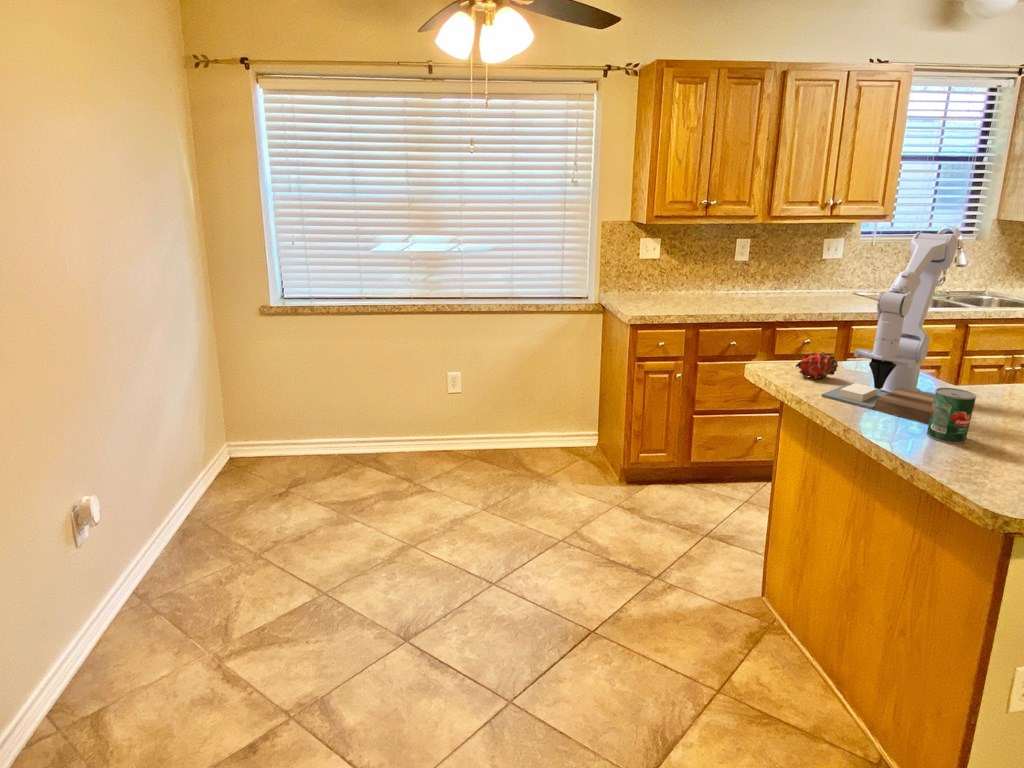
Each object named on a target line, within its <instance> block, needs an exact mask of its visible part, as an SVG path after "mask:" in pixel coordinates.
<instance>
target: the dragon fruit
mask: <svg viewBox="0 0 1024 768" xmlns="http://www.w3.org/2000/svg"><path fill="white" fill-rule="evenodd" d="M838 362H839V361H838V360H836V359H835V357H834V356H831V355H830V354H829V355H827V354H826V353H825V352H823V351H821V353H817V352H814V351H813V352H812V353H811V354H805V356H804V357H803V358H802V359H801V360H800V361H799V362H797V364H796V365H795V368H797V367H798V369H800V370H799V374H801V376H804V377H807V376H810V377H809V378H814V379H815V380H818V379H821V380H822V379H826V377H827V376H833V375H835V372H836V371H837V370H838V366H839V365H838Z"/></svg>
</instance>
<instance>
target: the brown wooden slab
mask: <svg viewBox="0 0 1024 768" xmlns="http://www.w3.org/2000/svg"><path fill="white" fill-rule="evenodd" d="M887 393H888V394H886V395H884V396H882V397H879V398H877V399H876V402H875V407H874V409H873V410H874V411H876V412H877V411H878V412H881V413H884V414H888V415H893V416H896V417H900V418H904V419H907V420H911V421H916V422H920V423H923V424H927V425H929V421H930V416H931V411H932V406H933V402H934V397H935V394H931V393H927V392H924V391H923V392H922V391H915V390H910V389H906V388H900V389H897V390H895V391H893V392H891V393H889V392H887Z"/></svg>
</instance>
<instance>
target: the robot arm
mask: <svg viewBox="0 0 1024 768" xmlns="http://www.w3.org/2000/svg"><path fill="white" fill-rule="evenodd" d="M957 247H958V238H957V235H956V234H954V233H953V234H943V233H940V234H939V233H929V232H928V233H925V232H920V231H919V232H916V233H915V234H914V235H913V236H912V238H911V242H910V245H909V251H910V255H911V256H910V259H909V262H908V264H907V267H906V268H905V270H904V271H901V272H899V273H898V274H897V275H896V277H895V279H894V281H893V282H892V283H891V285H890V287H889V288H888V291H885V292H882V293H881V294H880V296H879V297H878V301H877V304H876V310H877V311H876V312H877V314H876V320H878V321H877V325H876V326H877V327H876V332H875V337H874V342H873V343H874V344H873V349H872V350H870V349H864V348H856V349H855V350H854V353H853V354H854V355H853V356H854V357H855V358H861V359H862V358H863V359H868V360H870V361H869V362H868V366H869V368H870V371H871V373H872V377H873V383H874V384H873V387H874V388H877V389H878V390H877V391H881V392H886V393H891V392H893V391H895V390H897V389H900V388H906V389H910V390H915V391H919V392H921V388H917V386H918V382H919V377H920V373H921V366H920V364H919V363H922V362H924V360H925V359H926V357H927V355H928V352H929V347H930V346H929V345H930V341H931V338H930V335H929V334H928V332H926V331H925V329H923V326H924V324H925V319H926V317H927V315H928V311H929V310H930V305H931V302H932V299H933V297H934V294H935V290H936V287H937V285H938V282H939V279H940V276H941V274H942V272H943V271H944V270H947V269H950V267H951V265H952V263H953V260H954V257H955V254H956V252H957Z"/></svg>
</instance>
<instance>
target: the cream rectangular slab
mask: <svg viewBox="0 0 1024 768" xmlns="http://www.w3.org/2000/svg"><path fill="white" fill-rule="evenodd" d="M877 391H879V390H878V389H877V388H874V386H870V385H866V384H865V385H864V384H861V383H857V382H855V383H853V384H852V385H850V386H847V387H845V388H842V389H840V395H839V396H841V397H845V398H849V399H853V400H857V401H861V402H862V401H865V400H867V399H869V398H872V397H874V396H876V395H877Z"/></svg>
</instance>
